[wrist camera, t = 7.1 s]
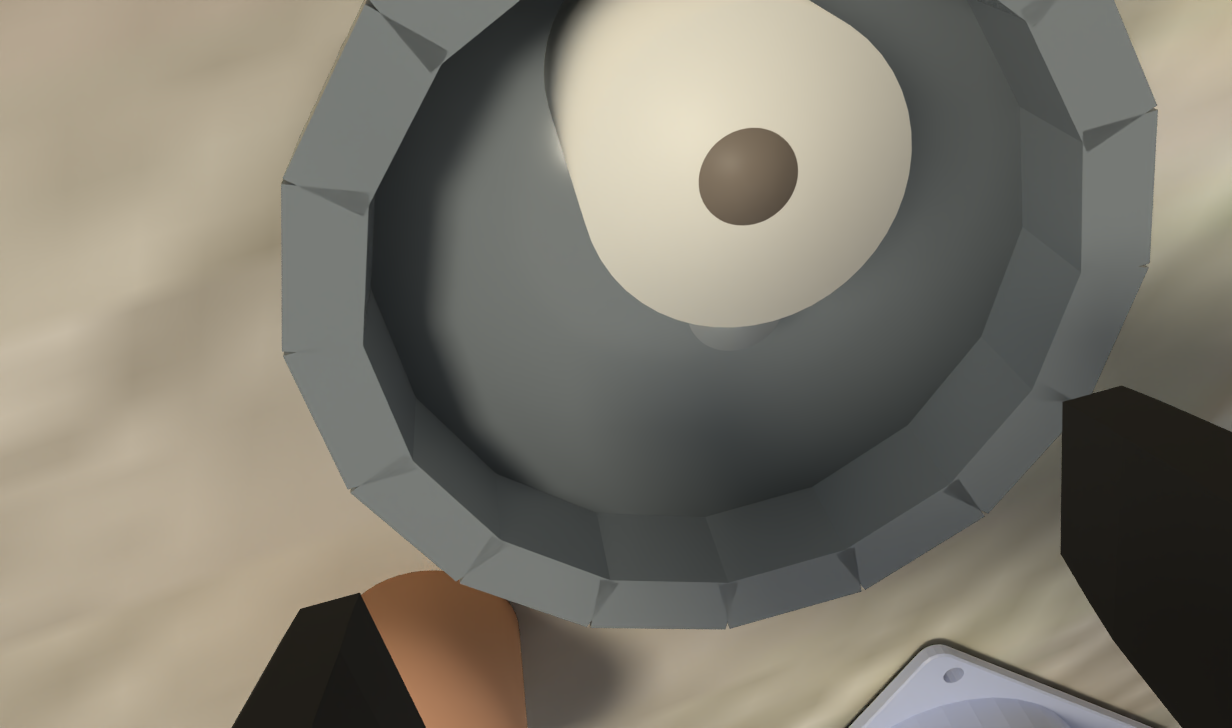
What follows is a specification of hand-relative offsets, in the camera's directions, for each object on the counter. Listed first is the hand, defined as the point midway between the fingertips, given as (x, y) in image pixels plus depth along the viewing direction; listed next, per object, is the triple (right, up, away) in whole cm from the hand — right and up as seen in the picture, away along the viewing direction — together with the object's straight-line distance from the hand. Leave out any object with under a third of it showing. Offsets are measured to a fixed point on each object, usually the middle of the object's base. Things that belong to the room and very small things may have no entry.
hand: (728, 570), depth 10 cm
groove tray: (0, +4, +8) cm, 9 cm away
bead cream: (0, +7, +6) cm, 9 cm away
